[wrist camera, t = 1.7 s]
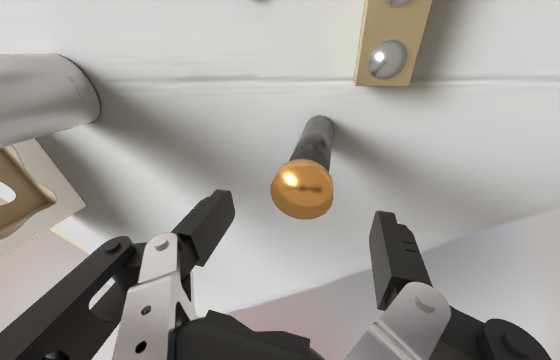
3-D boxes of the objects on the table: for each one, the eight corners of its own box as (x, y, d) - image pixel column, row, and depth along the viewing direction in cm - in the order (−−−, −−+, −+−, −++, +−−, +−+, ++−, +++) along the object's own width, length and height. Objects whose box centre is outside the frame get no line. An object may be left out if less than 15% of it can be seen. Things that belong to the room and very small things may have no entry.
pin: (301, 144, 25) (272, 214, 15) (302, 111, 23) (268, 165, 12) (335, 146, 24) (329, 223, 14) (339, 112, 22) (336, 171, 12)
